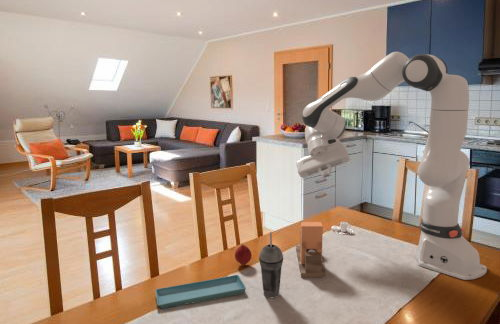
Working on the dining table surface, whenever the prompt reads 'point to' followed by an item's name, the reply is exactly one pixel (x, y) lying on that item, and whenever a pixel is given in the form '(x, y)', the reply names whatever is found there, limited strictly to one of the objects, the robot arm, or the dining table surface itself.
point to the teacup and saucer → (341, 227)
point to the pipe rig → (311, 263)
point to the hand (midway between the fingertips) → (326, 175)
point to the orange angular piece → (310, 238)
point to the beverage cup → (271, 268)
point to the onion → (243, 254)
